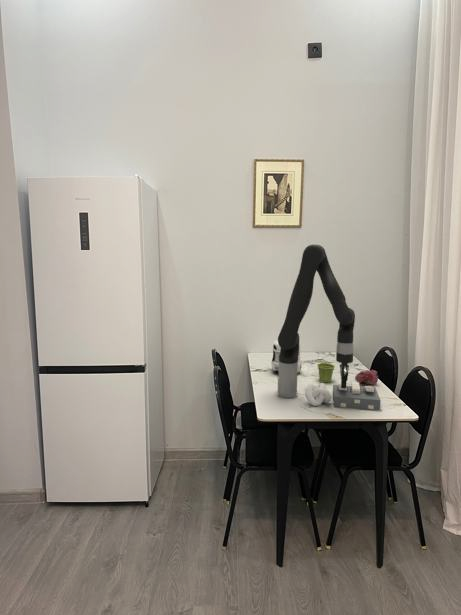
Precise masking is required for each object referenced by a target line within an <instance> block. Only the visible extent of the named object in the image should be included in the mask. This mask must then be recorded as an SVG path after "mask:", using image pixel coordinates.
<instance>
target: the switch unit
mask: <svg viewBox="0 0 461 615" xmlns="http://www.w3.org/2000/svg"><path fill="white" fill-rule="evenodd" d="M346 386H347V390H339V388H338V384H332V401H333V407H334V408H339V409H342V408H343V409H353V410H354V409H355V410H364V411H366V410H367V411H378V410H380V411H381V402H382V400H381V398H380V395H379V393H378V390H377V389H376V387H373V386H372V387H373V388H374V392H370V391H365V387H364V386H360V385H359V386H360V394H353V393H352V386H351V385H346Z"/></svg>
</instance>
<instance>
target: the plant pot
mask: <svg viewBox="0 0 461 615" xmlns="http://www.w3.org/2000/svg"><path fill="white" fill-rule="evenodd" d="M316 366H317V369H318V377H319V381H320V383H324V384H325V383H331V381H332V378H333V372H334V370H335V367H336V365H334V364H332V363H328V362H327V363H326V362H320V363H318V364H316Z"/></svg>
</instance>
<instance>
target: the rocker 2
mask: <svg viewBox="0 0 461 615" xmlns="http://www.w3.org/2000/svg"><path fill="white" fill-rule="evenodd" d="M350 386H352V393H353V394H360V383H359V382H357V381H356V382H355V381H352V382H351V384H350Z"/></svg>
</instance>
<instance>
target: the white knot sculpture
mask: <svg viewBox="0 0 461 615" xmlns="http://www.w3.org/2000/svg"><path fill="white" fill-rule="evenodd" d="M304 393H305V398H306V400H307V401H308V403H309V404H310V405H311V406H313V407H319V406H320V405H322V404H329V403H330V402H331V401H332V394H331V393H330V391H329V390H328V389H327V386H326V384H325V383H324V382H319V383H318V384H314V383H310V384H308V385H306V387H305V392H304Z"/></svg>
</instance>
